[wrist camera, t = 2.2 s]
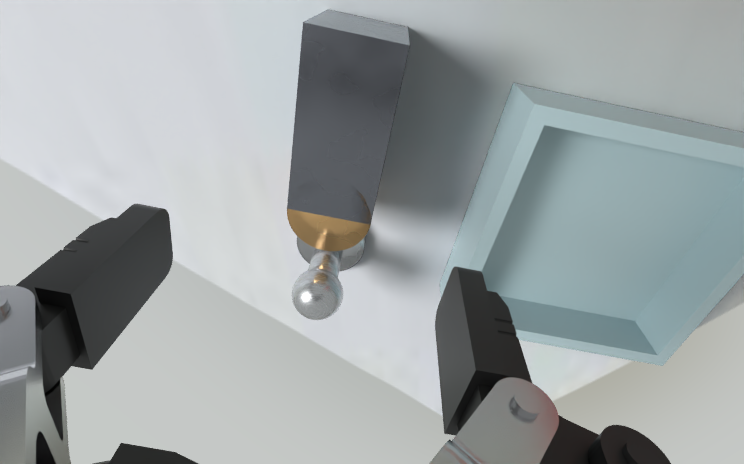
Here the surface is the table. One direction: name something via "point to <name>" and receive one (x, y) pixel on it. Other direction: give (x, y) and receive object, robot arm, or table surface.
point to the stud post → (322, 279)
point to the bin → (605, 224)
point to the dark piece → (342, 125)
